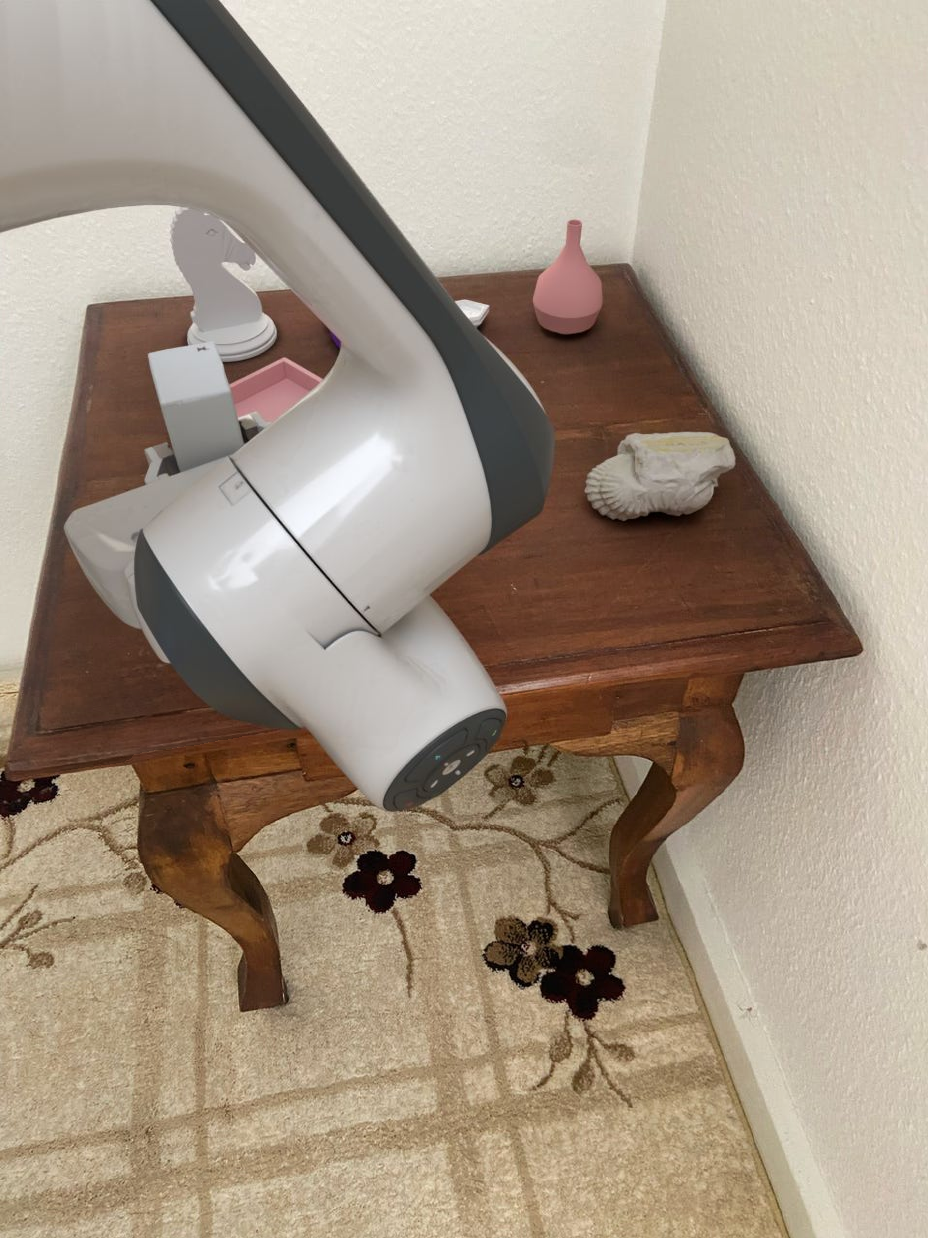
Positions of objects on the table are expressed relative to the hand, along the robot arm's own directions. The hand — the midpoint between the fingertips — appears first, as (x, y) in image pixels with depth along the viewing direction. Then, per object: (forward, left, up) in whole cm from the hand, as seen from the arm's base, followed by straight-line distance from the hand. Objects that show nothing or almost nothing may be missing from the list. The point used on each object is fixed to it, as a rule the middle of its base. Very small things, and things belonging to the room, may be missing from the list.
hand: (202, 438), depth 56 cm
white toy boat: (+42, +20, -18) cm, 50 cm away
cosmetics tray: (+17, +19, -17) cm, 31 cm away
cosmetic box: (0, -1, -7) cm, 7 cm away
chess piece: (+25, +36, -18) cm, 47 cm away
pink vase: (+52, +10, -18) cm, 56 cm away
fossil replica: (+33, -15, -18) cm, 40 cm away
